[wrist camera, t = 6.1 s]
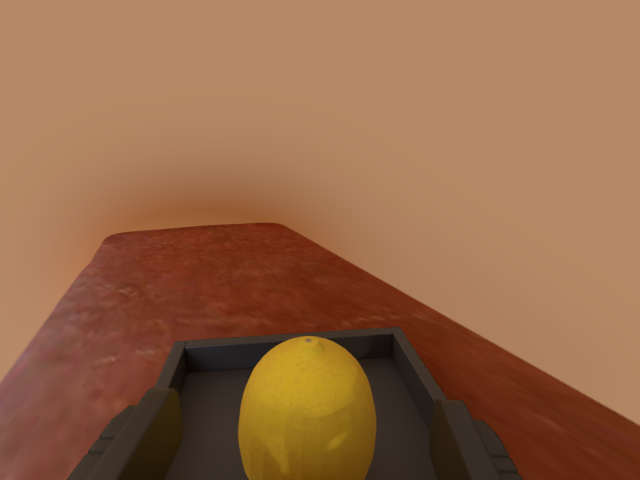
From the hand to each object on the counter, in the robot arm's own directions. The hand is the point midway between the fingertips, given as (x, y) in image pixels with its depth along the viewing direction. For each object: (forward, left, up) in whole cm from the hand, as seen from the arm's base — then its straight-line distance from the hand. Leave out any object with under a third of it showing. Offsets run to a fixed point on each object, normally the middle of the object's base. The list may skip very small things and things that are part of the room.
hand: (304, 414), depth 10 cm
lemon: (0, -2, -7) cm, 8 cm away
